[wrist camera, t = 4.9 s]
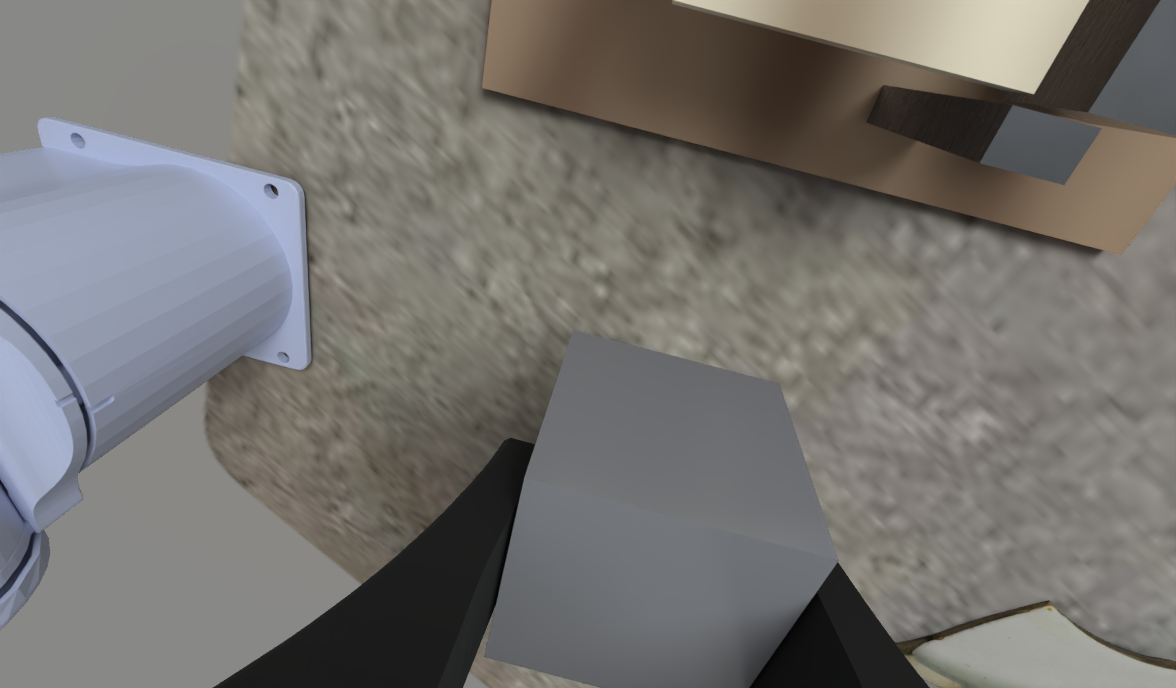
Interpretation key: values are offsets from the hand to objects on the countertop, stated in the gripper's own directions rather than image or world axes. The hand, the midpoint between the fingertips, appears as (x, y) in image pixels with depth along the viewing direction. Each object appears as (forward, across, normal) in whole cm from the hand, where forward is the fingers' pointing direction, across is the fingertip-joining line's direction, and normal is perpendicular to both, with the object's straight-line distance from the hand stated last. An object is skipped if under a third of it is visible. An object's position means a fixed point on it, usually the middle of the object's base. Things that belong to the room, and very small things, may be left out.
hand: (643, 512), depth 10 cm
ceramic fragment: (+11, -23, +13) cm, 29 cm away
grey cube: (+2, 0, 0) cm, 2 cm away
